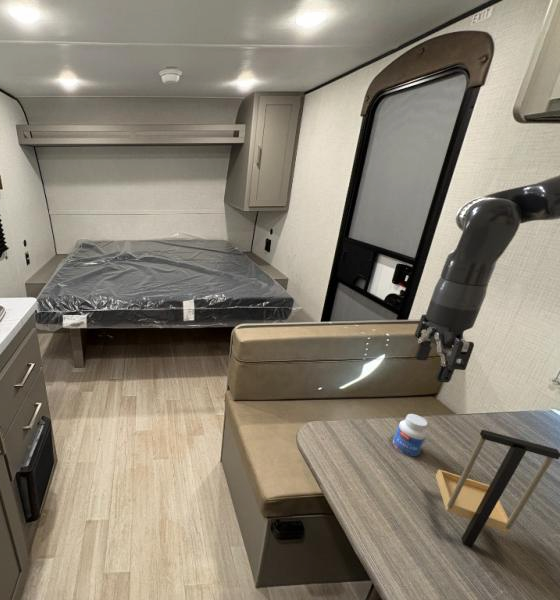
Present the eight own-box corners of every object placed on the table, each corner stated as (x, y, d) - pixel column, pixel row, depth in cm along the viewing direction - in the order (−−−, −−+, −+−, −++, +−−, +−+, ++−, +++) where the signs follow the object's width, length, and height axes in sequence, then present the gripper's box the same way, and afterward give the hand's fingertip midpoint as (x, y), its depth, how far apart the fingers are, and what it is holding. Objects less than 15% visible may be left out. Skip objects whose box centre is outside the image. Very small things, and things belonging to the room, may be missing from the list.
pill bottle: (389, 450, 79) (400, 419, 75) (393, 438, 82) (404, 408, 79) (417, 463, 75) (429, 431, 71) (419, 449, 79) (432, 418, 75)
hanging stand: (478, 515, 64) (532, 417, 54) (497, 562, 56) (563, 457, 47) (424, 496, 67) (466, 401, 58) (435, 538, 60) (485, 436, 50)
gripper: (504, 317, 56) (471, 392, 62) (455, 290, 69) (432, 354, 75) (455, 313, 58) (428, 387, 64) (416, 288, 71) (396, 351, 77)
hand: (430, 369), depth 70 cm, fingers open, 8 cm apart
